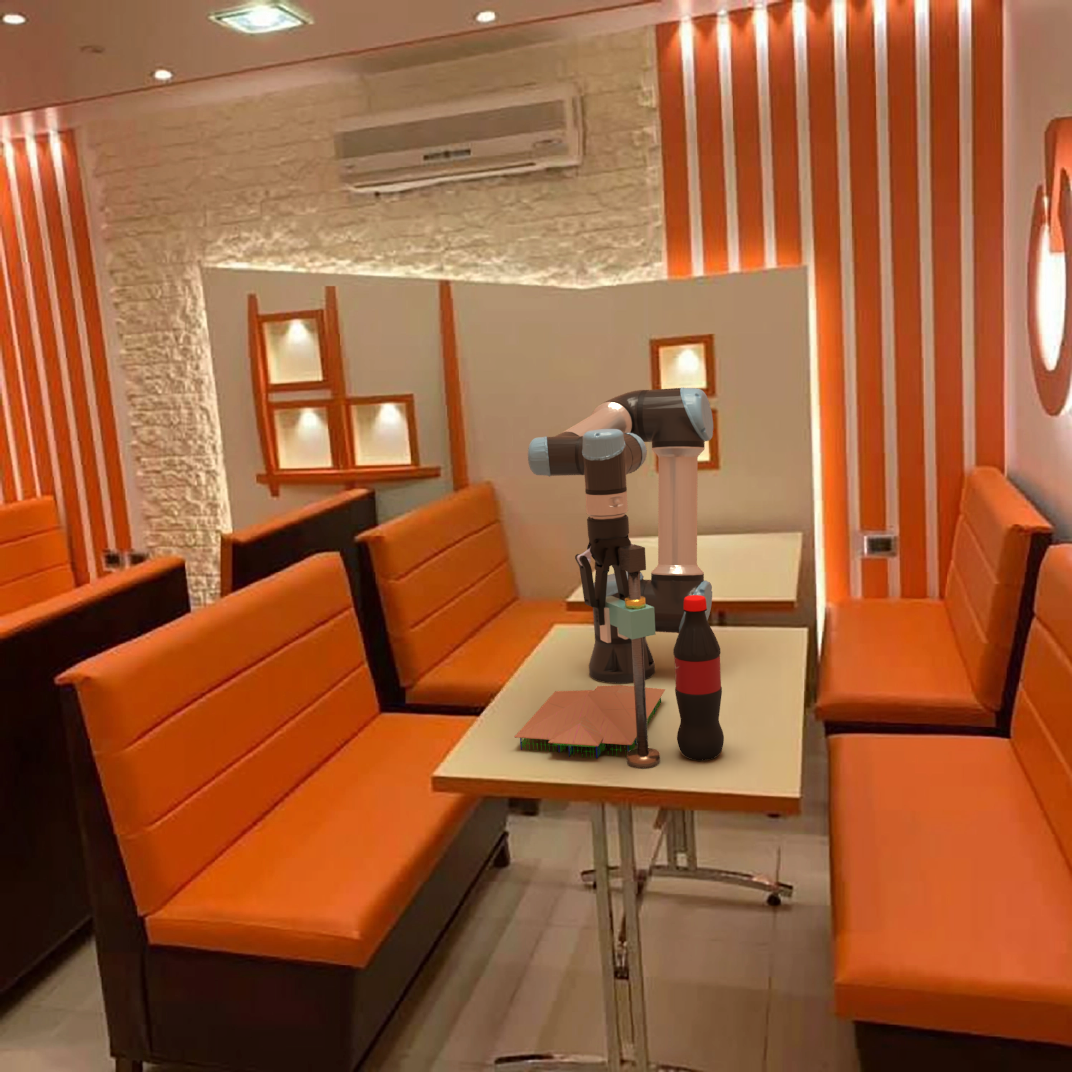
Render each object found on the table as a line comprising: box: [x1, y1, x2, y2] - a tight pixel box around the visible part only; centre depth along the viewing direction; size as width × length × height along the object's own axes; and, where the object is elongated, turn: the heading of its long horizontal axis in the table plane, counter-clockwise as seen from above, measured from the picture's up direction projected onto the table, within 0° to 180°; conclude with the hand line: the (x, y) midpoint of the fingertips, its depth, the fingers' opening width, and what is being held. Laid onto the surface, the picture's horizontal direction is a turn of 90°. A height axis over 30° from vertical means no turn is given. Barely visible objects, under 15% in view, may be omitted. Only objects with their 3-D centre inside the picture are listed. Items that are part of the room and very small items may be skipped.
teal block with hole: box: [605, 596, 656, 639], centre depth 190 cm, size 14×5×5 cm, turn 25°
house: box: [514, 684, 666, 759], centre depth 208 cm, size 23×33×8 cm
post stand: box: [620, 544, 661, 769], centre depth 187 cm, size 6×6×40 cm
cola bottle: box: [672, 595, 725, 762], centre depth 189 cm, size 8×8×30 cm
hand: (614, 639), depth 194 cm, fingers closed on teal block with hole, 3 cm apart
